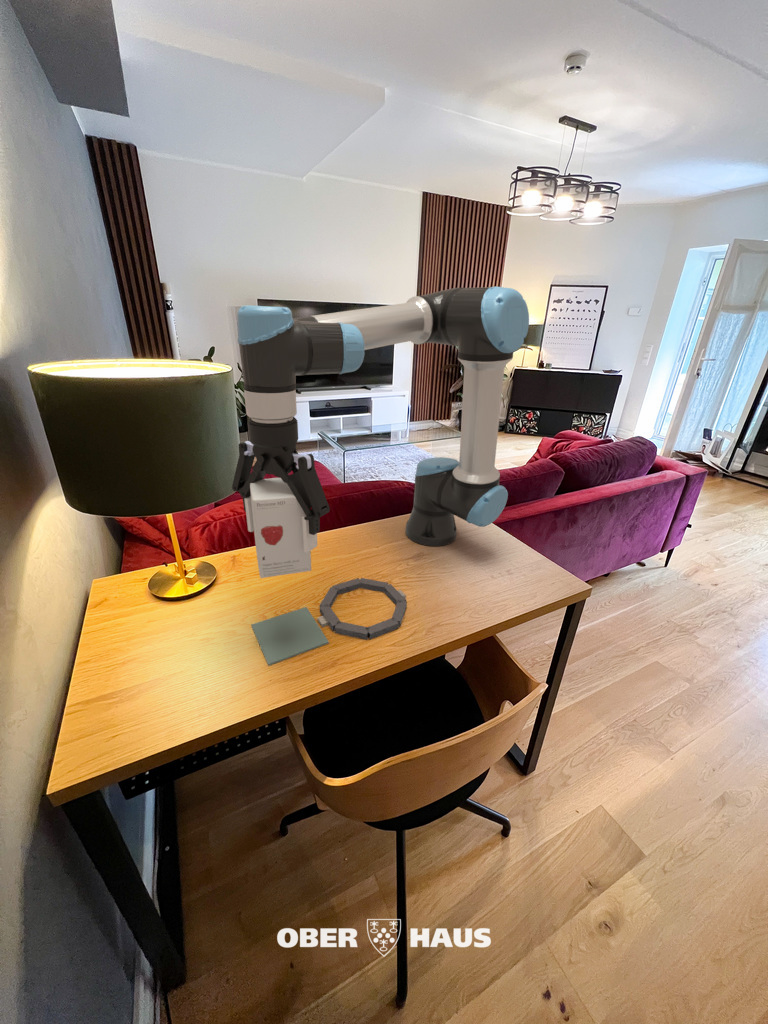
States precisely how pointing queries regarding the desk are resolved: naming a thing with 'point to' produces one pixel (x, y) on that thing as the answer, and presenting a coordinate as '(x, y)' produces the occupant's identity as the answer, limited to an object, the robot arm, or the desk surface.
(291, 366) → the robot arm
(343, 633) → the socket collar
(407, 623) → the desk surface
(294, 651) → the felt pad
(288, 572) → the supplement box
